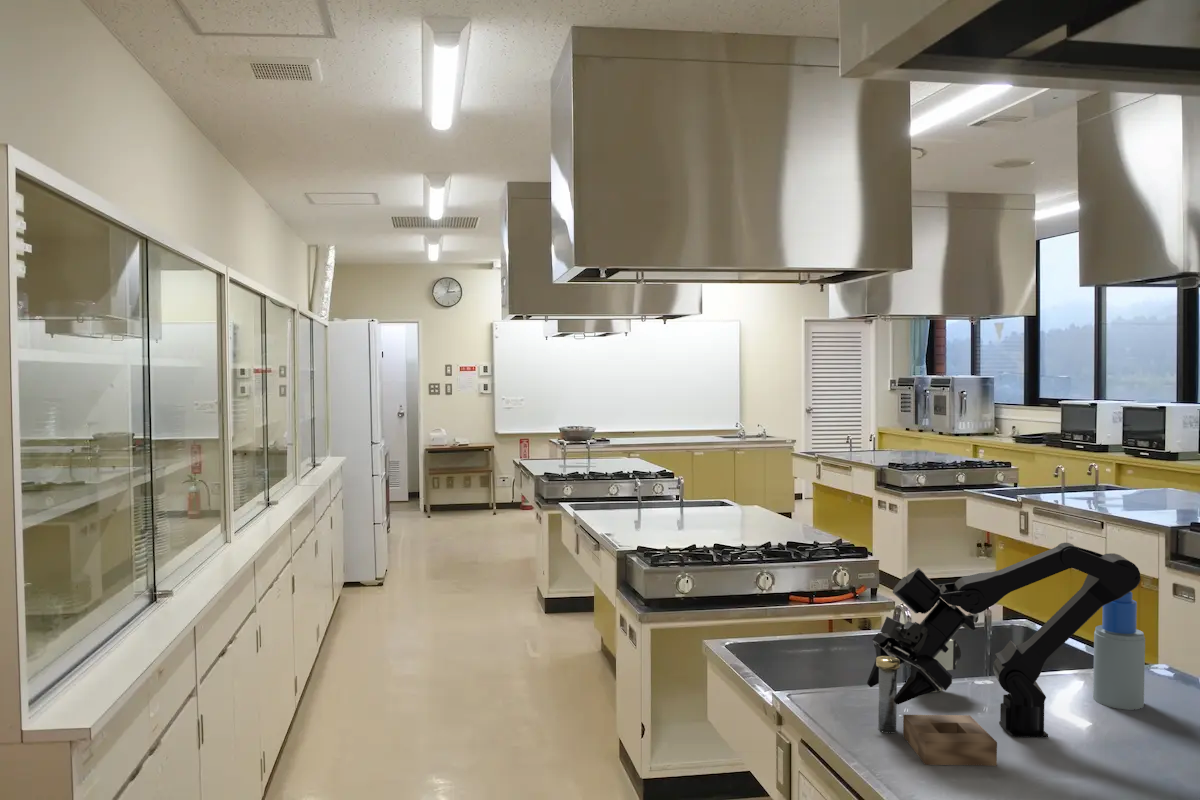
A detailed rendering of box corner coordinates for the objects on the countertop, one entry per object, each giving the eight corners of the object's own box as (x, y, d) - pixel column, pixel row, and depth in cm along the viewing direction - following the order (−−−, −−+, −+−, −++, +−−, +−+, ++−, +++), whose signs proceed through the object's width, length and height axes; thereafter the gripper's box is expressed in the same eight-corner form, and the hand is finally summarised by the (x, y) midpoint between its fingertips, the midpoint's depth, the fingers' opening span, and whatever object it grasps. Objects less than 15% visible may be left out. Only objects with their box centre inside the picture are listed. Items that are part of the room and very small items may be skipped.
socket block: (969, 737, 164) (969, 715, 164) (996, 765, 152) (996, 742, 152) (903, 736, 165) (903, 714, 165) (925, 764, 153) (925, 741, 153)
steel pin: (895, 725, 170) (896, 656, 169) (902, 734, 166) (902, 663, 165) (872, 725, 170) (873, 655, 169) (879, 734, 166) (879, 663, 165)
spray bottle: (1094, 690, 188) (1096, 572, 188) (1144, 699, 184) (1146, 577, 183) (1091, 703, 181) (1093, 580, 180) (1143, 713, 176) (1145, 586, 175)
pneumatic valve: (961, 691, 188) (961, 634, 188) (912, 696, 185) (912, 638, 185) (944, 682, 193) (945, 627, 193) (896, 687, 190) (897, 631, 190)
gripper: (881, 591, 177) (829, 650, 175) (938, 616, 159) (881, 682, 157) (917, 628, 179) (866, 687, 177) (976, 657, 161) (920, 723, 159)
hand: (881, 693), depth 167 cm, fingers open, 9 cm apart
